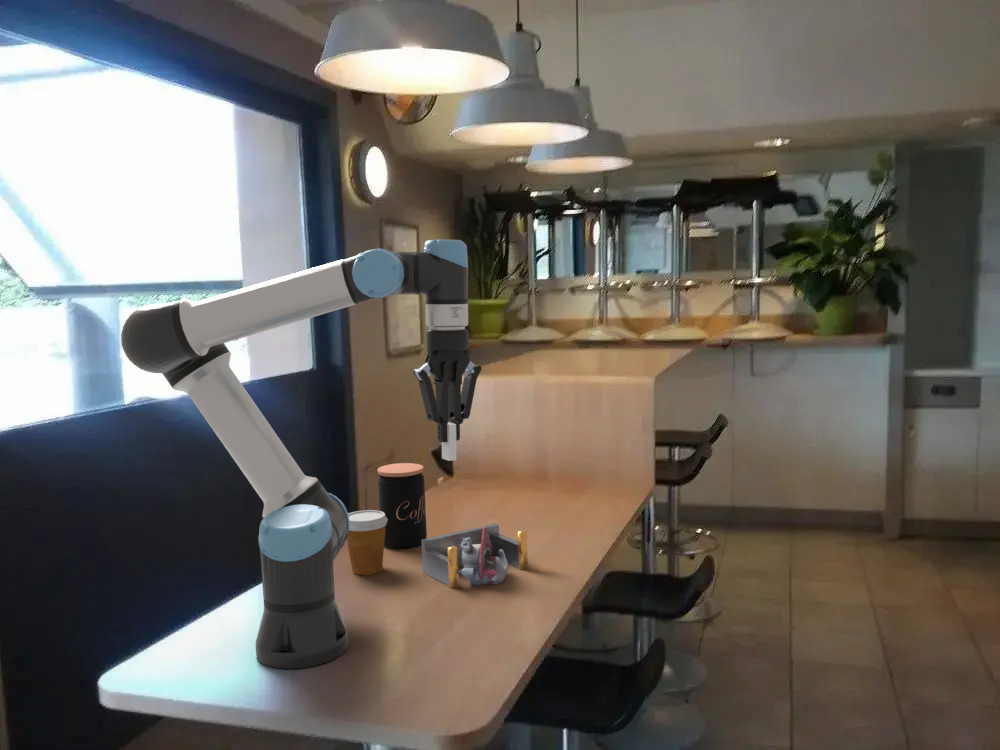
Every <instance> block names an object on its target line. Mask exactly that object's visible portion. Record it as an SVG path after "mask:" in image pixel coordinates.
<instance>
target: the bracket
mask: <svg viewBox="0 0 1000 750" xmlns="http://www.w3.org/2000/svg"><path fill="white" fill-rule="evenodd" d="M484 526H486V527H487V531H488V535H489V538H490V542H491V547H492V550H491V556H492V557H498V551H499V550H500V549H501V550H503V551H504V553H505V557H506V559H507V562H508V565H511V566H512V567H514V568H518V569H519V570H521V571H526V570H528V569H529V550H528V531H527V530H526V529H519V530H517V532H516V533H517V540H515V539H513V538H511V537H508V536H507V535H503V534H501V533H500V524H498V523H491V524H487V525H482V526H478V527H473V528H469V529H464V530H459V531H456V532H455V531H454V532H451V533H450V532H449V533H447V534H446V533H445V534H441V535H437V536H432V537H427V538H426V539H422V545H421V556H422V562H421V563H422V573H424V574H425V575H428V576H429V577H432V578H433V579H435V580H437V581H439V582H441V583H442V584H444V585H446V586H448V587H449V588H450V589H457V588H459V587H460V581H459V580H460V577H459V574H460V573H458V570H459V567H461V566H463V564H462V551H463V549H462V548H461V543H462V541H463V540H462V538H468V537H470V538H471V540H472V542H471V544H481V540H482V532H483V527H484ZM486 547H487V545H486Z"/></svg>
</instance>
